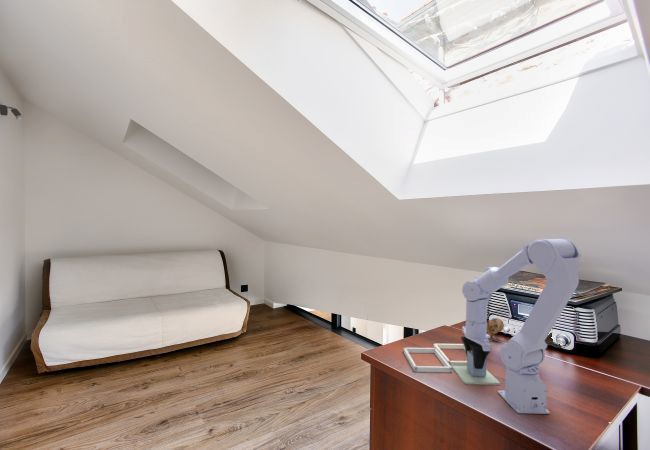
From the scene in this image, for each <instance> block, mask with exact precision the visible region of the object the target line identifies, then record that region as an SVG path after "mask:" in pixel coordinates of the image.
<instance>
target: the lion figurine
mask: <svg viewBox="0 0 650 450" xmlns="http://www.w3.org/2000/svg"><path fill="white" fill-rule="evenodd" d="M504 327H505V323H504V320H502V319H501V318H499V317H498V318H493V319H487V329H486V334H488V335H489V336H490V338H488V341H489V342H492V341H493V340H495V337H494V334H496V335H497V334H498V333H499V332H502V331H503V330H504Z"/></svg>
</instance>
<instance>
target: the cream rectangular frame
mask: <svg viewBox="0 0 650 450" xmlns="http://www.w3.org/2000/svg"><path fill="white" fill-rule="evenodd" d="M432 346H433V347H432V348H436V349H437V350H438V351H439V352H440V354H441V355H442V356H443V357H444V359H445V360H446V361H447V362H448V363H449V365H450V366H451V367H452V366H467V360H450V359H449V357H447V355H446V354H445V353H444V352H443V350H442V349H445V350H447V349H448V350H449V349H450V350H464V352H466V350H465V347H464V344H463V343H433V345H432Z"/></svg>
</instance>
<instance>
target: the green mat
mask: <svg viewBox="0 0 650 450" xmlns="http://www.w3.org/2000/svg"><path fill="white" fill-rule="evenodd" d="M452 371H453V372H455V374H456V375H457V376H458V378H460V380H461V381H462V382H463V383H464V384H465V385H486V386H487V385H488V386H490V385H492V386H497V385H498V386H499V385H501V382H500V381H499V380H498V379H497V378H496V377H495V376H494V375H493V374H492V373H490V371H488V369H486V376H472V375H471V374H470V372H469V371H468V370H467V366H452Z"/></svg>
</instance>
